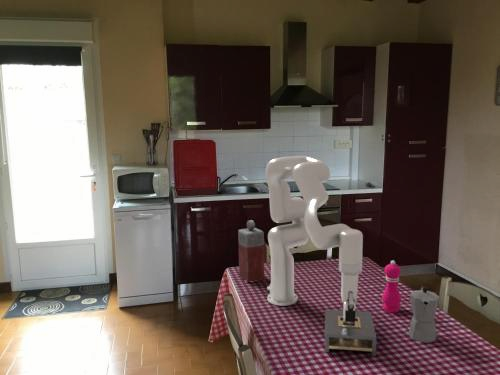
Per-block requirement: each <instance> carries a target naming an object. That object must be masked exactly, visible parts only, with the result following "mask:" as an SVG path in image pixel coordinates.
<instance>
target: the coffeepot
mask: <svg viewBox="0 0 500 375" xmlns="http://www.w3.org/2000/svg"><path fill="white" fill-rule="evenodd" d="M409 297H410V306H411V307H410V308H411V312H412V313H413V314H412V318H411V322H410V326H409V329H408V332H407V333H408V336H409V337H410V338H411V339H412V340H414V341H416V342H420V343H426V344H427V343H429V344H430V343H433V342H435V341H436V340H437V337H438V334H437V326H436V321H435V316H436V314H437V310H438V306H439V302H440V296H439V295H438V294H437V293H436V292H432V291H429V290H428V287H427V286H425V285H421V287H420V289H419V290H418V289H417V290H413V291H412V292H411V293H409Z"/></svg>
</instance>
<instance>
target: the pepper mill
mask: <svg viewBox="0 0 500 375" xmlns="http://www.w3.org/2000/svg"><path fill="white" fill-rule="evenodd" d="M401 272H402V270H401V267H400V266H399V265H398V264H396V261H395V260H390V263H389V264H387V265H385V268H384V274H385V280H386V287H385V288H384V291H383V293H382V296H381V299H382V300H381V301H382V302H383V304H382V309H383V311H385V312H386V313H391V314H392V313H398V312H400V309H401V306H400V304H401V302H402V296H401V292H400V291H399V287H398V283H399V281H400V277H399V276H400V275H401Z"/></svg>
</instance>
